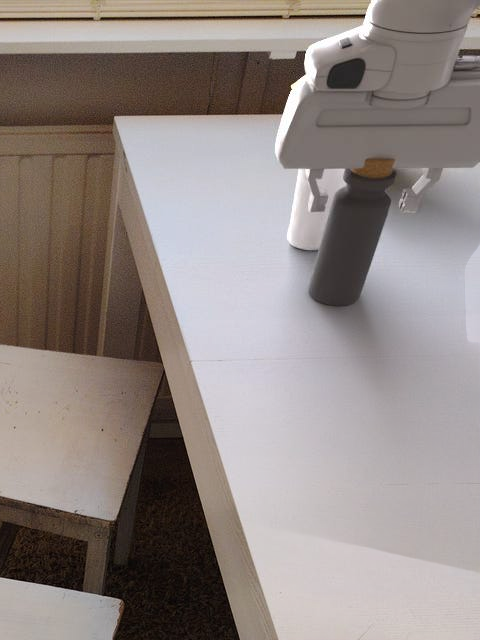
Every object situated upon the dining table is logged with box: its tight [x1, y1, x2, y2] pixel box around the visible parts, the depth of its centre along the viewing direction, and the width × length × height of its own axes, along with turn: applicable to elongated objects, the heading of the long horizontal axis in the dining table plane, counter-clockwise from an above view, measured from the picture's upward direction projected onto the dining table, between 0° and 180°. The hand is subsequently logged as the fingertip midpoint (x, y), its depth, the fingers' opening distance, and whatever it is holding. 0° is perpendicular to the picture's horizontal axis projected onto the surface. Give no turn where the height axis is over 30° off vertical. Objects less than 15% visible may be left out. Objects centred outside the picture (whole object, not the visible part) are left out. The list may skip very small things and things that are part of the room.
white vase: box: [286, 169, 347, 251], centre depth 97 cm, size 7×7×15 cm
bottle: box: [307, 159, 397, 307], centre depth 89 cm, size 6×6×15 cm
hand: (361, 210), depth 87 cm, fingers open, 8 cm apart
